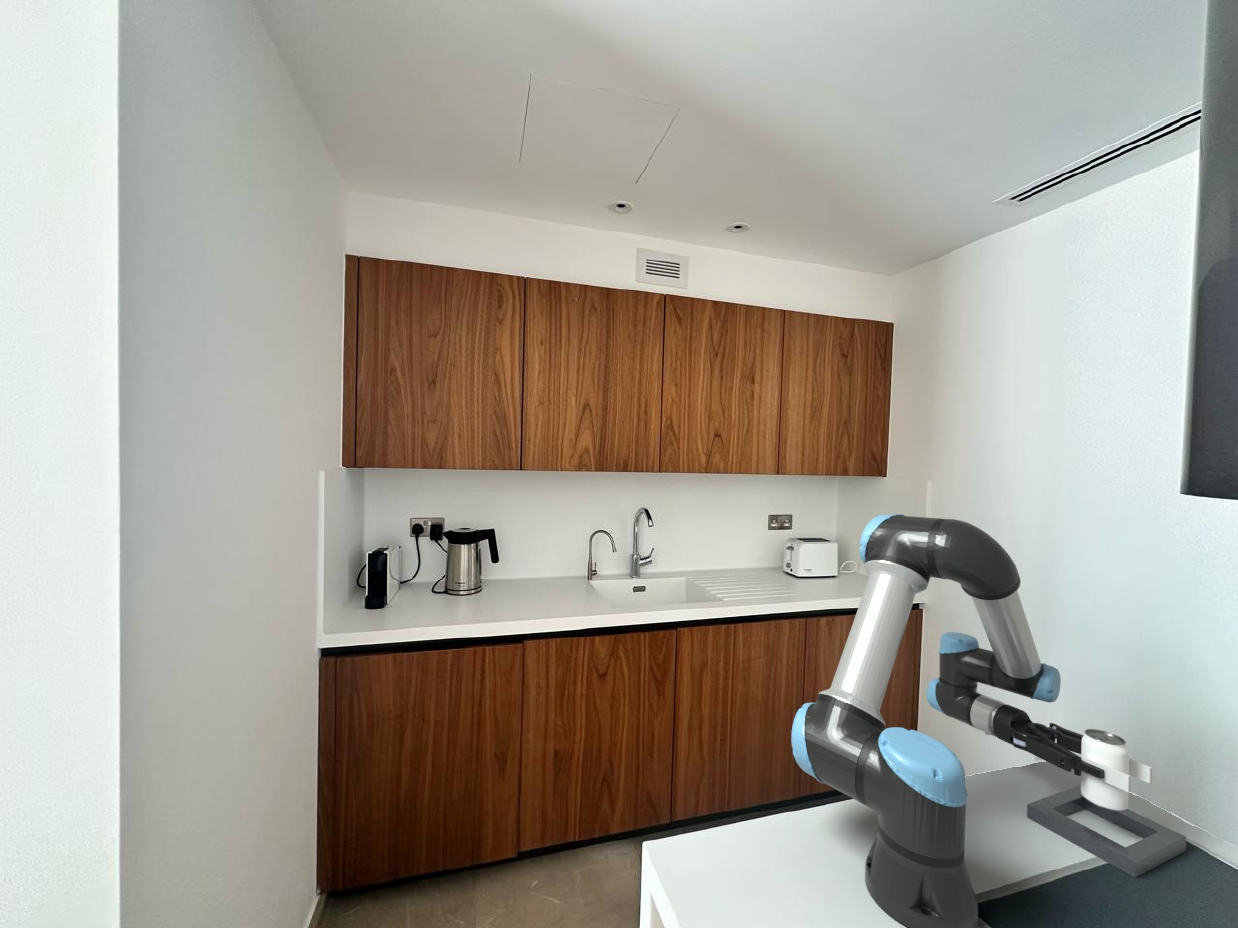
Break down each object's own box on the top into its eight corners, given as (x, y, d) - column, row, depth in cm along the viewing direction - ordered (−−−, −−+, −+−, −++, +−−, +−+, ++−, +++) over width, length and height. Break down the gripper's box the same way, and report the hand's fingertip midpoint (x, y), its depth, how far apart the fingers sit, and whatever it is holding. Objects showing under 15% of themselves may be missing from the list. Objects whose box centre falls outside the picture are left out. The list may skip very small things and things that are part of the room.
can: (1137, 814, 93) (1138, 747, 93) (1095, 809, 94) (1096, 743, 95) (1111, 793, 99) (1112, 729, 100) (1072, 788, 101) (1073, 725, 101)
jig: (1135, 877, 86) (1135, 862, 86) (1027, 817, 101) (1027, 804, 101) (1185, 850, 93) (1186, 836, 93) (1077, 797, 107) (1077, 785, 107)
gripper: (1028, 730, 117) (1167, 788, 96) (972, 746, 110) (1110, 814, 88) (1028, 696, 117) (1168, 747, 96) (972, 710, 110) (1110, 769, 89)
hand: (1140, 779), depth 92 cm, fingers closed on can, 6 cm apart
